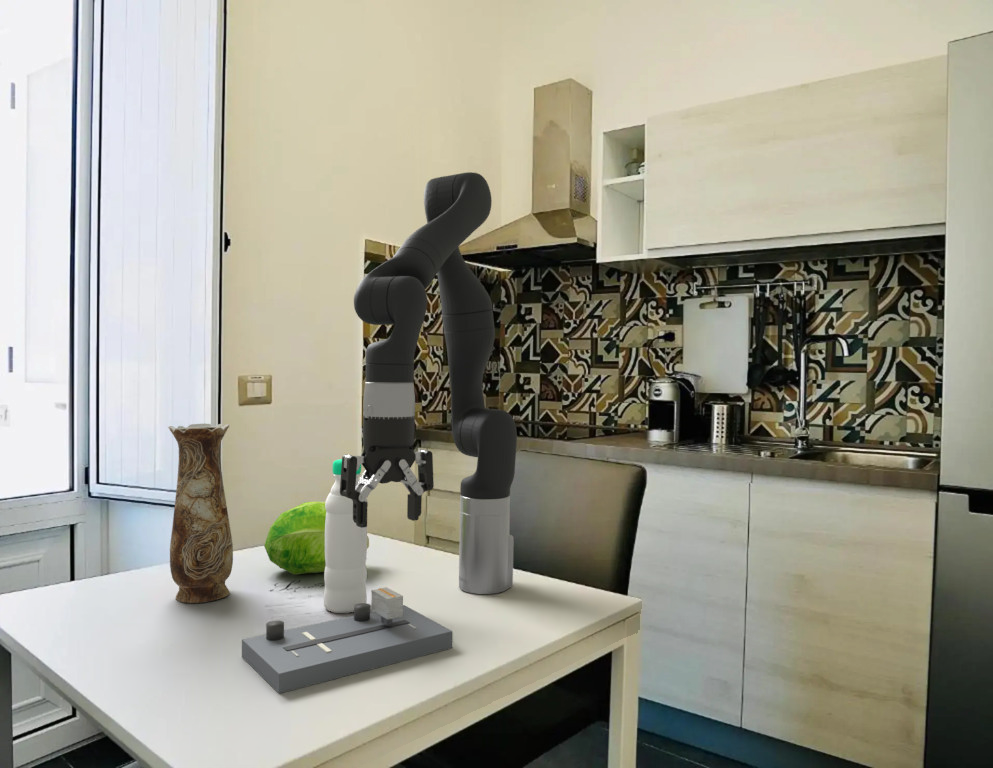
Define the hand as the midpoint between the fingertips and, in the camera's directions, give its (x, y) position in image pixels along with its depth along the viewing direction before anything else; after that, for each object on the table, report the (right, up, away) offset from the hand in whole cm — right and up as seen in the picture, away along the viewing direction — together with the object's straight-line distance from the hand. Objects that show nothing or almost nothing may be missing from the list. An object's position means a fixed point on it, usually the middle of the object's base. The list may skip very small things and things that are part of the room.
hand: (387, 523), depth 109 cm
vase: (-36, -17, +21) cm, 45 cm away
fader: (0, -15, 0) cm, 15 cm away
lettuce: (-19, -17, +37) cm, 45 cm away
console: (-5, -18, -3) cm, 19 cm away
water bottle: (-9, -18, +16) cm, 26 cm away
